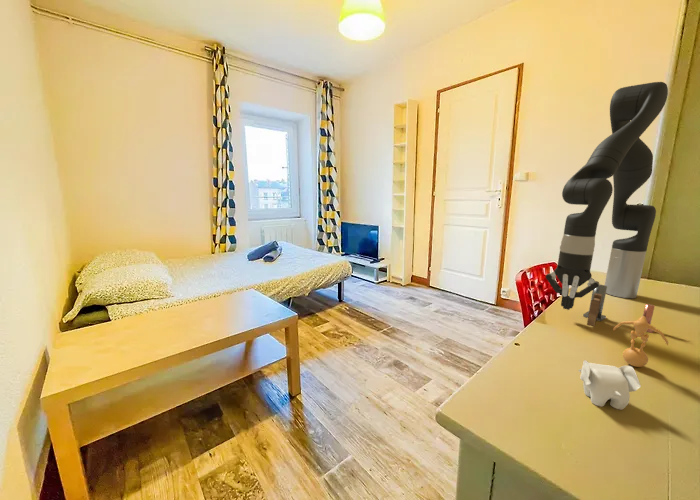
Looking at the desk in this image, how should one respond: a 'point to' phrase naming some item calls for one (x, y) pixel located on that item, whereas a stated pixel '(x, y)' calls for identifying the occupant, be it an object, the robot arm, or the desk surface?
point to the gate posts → (602, 290)
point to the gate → (594, 309)
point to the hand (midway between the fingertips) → (566, 308)
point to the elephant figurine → (609, 384)
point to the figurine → (638, 355)
